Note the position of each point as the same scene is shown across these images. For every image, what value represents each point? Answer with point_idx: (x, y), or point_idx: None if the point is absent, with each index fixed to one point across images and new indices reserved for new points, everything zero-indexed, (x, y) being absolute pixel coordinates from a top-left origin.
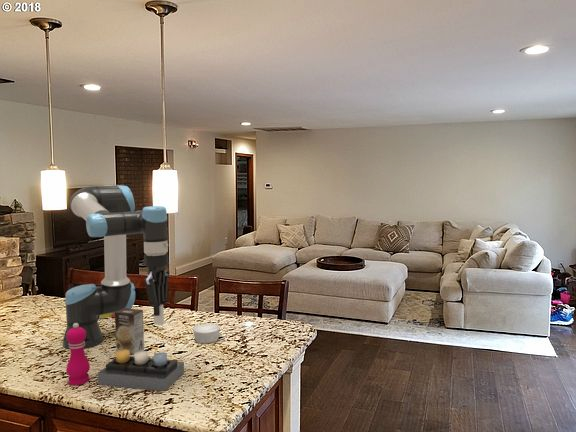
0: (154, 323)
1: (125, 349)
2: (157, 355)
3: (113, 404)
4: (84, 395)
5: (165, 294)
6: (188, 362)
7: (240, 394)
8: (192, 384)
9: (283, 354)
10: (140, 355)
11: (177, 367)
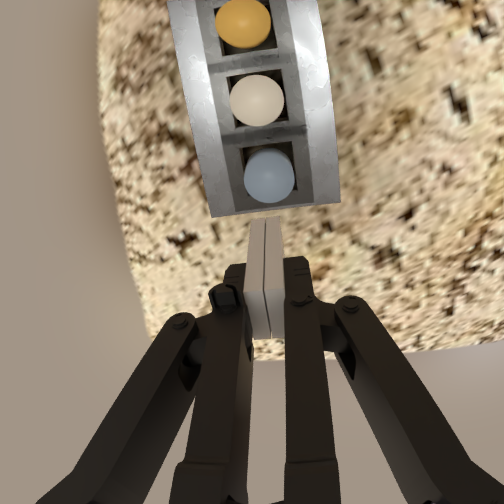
0: (252, 224)
1: (268, 15)
2: (260, 173)
3: (113, 133)
4: (116, 31)
5: (348, 380)
6: (401, 164)
7: (267, 342)
8: None
9: (452, 336)
10: (237, 112)
11: (295, 206)
